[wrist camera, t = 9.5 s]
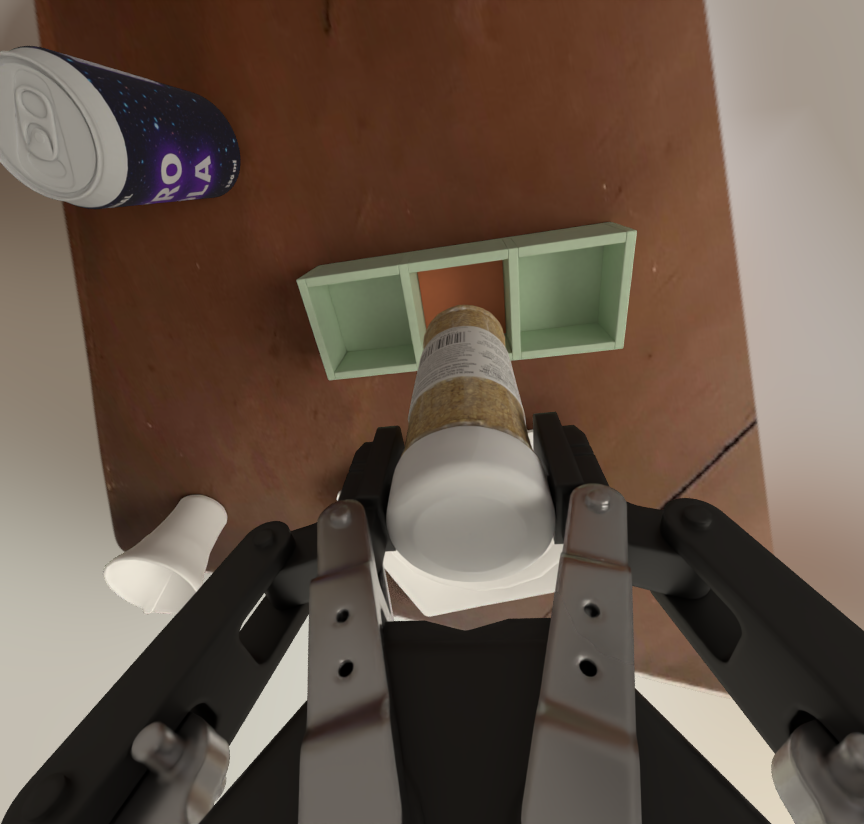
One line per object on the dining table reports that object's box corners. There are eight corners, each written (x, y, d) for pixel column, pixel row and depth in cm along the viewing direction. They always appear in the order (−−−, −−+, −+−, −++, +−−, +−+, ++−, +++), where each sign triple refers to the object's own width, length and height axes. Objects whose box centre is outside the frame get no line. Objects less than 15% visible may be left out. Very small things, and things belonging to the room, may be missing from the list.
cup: (162, 520, 46) (95, 599, 38) (176, 470, 41) (104, 547, 33) (234, 548, 48) (186, 629, 39) (255, 504, 43) (206, 584, 35)
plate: (423, 603, 52) (421, 623, 49) (326, 473, 40) (318, 491, 38) (612, 565, 45) (620, 586, 43) (559, 397, 34) (566, 413, 32)
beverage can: (162, 178, 27) (-22, 182, 17) (159, 77, 24) (-67, 6, 14) (243, 209, 27) (116, 231, 17) (250, 115, 24) (101, 74, 14)
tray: (611, 221, 26) (637, 229, 22) (602, 326, 30) (623, 348, 26) (317, 265, 29) (295, 279, 25) (343, 356, 33) (328, 380, 29)
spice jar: (437, 386, 23) (415, 598, 12) (412, 315, 21) (354, 491, 9) (514, 366, 22) (571, 577, 11) (495, 289, 20) (543, 452, 8)
